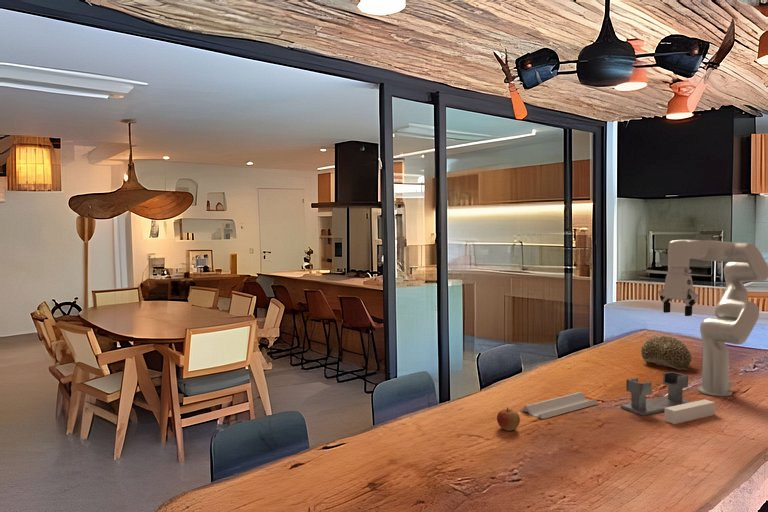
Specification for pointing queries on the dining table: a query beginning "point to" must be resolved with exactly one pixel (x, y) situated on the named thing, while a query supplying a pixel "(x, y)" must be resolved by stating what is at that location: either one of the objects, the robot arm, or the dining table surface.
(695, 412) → the rail
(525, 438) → the dining table surface
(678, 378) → the bracket stand
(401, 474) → the dining table surface
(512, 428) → the apple
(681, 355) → the coral
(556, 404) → the crown molding
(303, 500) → the dining table surface
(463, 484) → the dining table surface
